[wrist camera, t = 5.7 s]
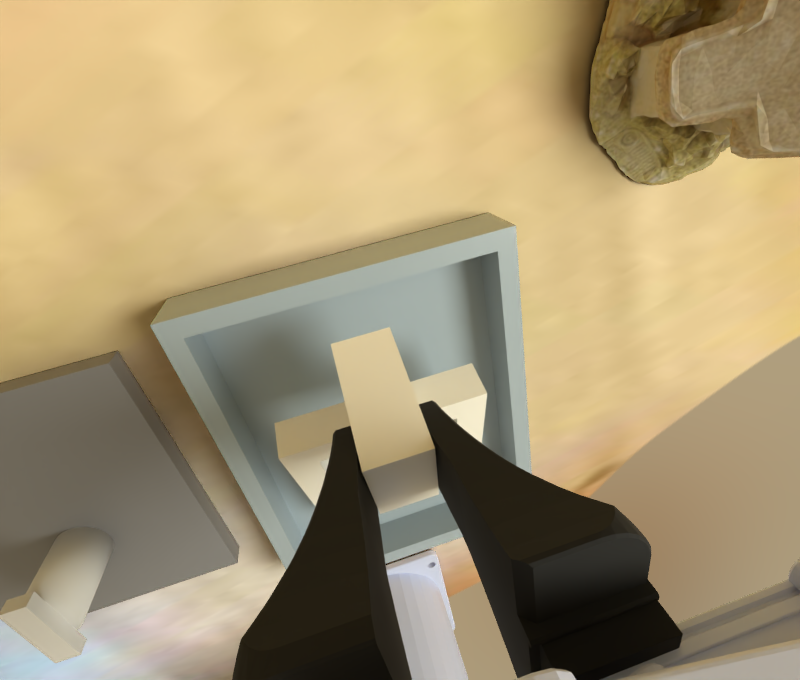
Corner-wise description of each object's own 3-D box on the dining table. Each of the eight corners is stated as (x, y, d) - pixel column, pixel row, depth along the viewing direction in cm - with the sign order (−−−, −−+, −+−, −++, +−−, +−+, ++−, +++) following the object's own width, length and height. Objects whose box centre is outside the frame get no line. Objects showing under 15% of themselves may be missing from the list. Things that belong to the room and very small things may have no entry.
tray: (513, 479, 27) (533, 511, 24) (298, 552, 25) (299, 593, 23) (488, 212, 18) (515, 225, 16) (167, 298, 17) (149, 325, 15)
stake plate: (239, 546, 24) (228, 644, 19) (32, 615, 23) (-29, 735, 18) (117, 350, 17) (60, 430, 13) (-180, 432, 16) (-353, 550, 12)
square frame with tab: (467, 448, 23) (503, 532, 21) (324, 495, 23) (340, 589, 20) (475, 302, 14) (540, 414, 12) (238, 370, 14) (247, 509, 11)
